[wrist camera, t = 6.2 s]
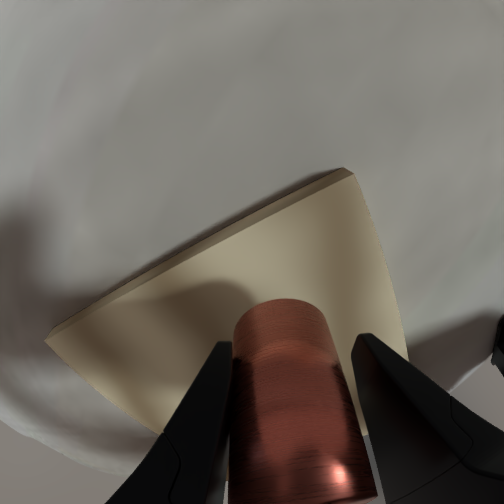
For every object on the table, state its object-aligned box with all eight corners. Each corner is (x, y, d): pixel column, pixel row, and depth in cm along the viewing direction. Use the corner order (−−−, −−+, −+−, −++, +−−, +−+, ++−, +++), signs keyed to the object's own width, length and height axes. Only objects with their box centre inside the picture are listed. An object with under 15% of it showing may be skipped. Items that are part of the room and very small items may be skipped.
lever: (331, 267, 10) (418, 473, 3) (304, 461, 18) (313, 536, 12) (218, 277, 10) (190, 505, 3) (256, 466, 18) (259, 541, 12)
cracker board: (343, 167, 10) (391, 196, 6) (411, 401, 18) (426, 438, 14) (39, 336, 14) (13, 378, 11) (207, 462, 22) (205, 495, 19)
